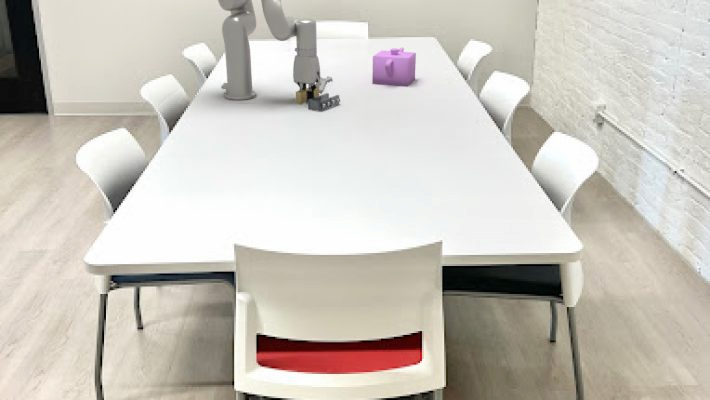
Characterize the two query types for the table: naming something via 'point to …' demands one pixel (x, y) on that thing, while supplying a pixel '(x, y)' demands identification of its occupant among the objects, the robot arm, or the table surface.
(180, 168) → the table surface
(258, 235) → the table surface
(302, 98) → the master link
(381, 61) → the teapot
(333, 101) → the chain end grey
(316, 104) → the chain end dark
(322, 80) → the adjustable wrench
